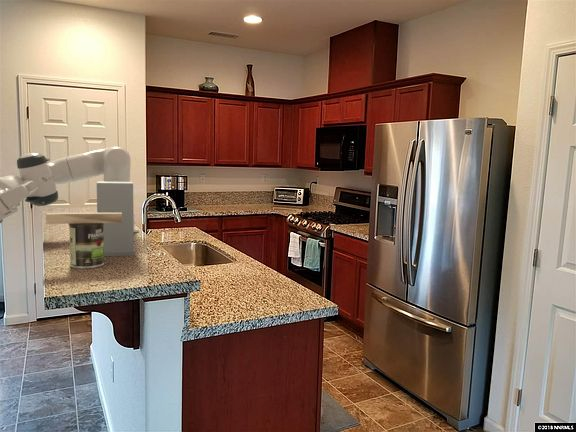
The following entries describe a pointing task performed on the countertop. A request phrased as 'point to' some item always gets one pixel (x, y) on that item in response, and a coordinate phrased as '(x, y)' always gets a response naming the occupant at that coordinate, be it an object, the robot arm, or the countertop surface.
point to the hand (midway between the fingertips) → (44, 179)
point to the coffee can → (86, 245)
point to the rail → (83, 218)
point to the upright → (122, 234)
